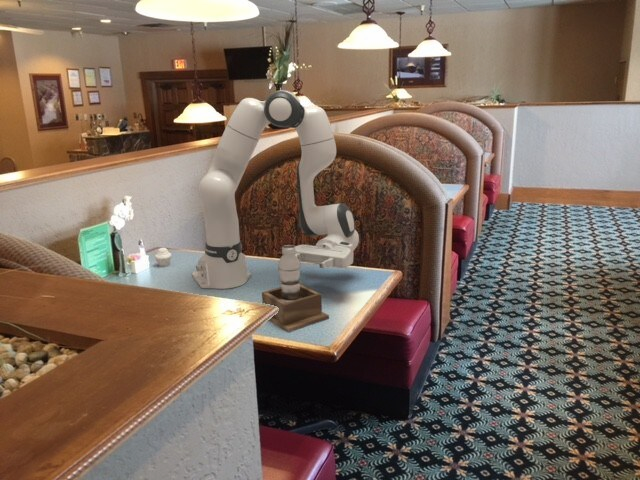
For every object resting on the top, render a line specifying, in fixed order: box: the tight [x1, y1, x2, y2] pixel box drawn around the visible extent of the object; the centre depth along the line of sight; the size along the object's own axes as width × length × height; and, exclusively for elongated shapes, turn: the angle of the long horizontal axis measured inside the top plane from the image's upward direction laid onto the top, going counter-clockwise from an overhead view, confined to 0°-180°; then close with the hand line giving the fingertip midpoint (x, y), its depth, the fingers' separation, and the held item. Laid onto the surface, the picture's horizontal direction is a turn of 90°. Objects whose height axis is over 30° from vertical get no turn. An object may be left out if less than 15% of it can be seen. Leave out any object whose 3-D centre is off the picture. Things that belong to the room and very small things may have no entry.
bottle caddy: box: [261, 283, 330, 333], centre depth 158 cm, size 17×14×7 cm
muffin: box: [154, 247, 172, 267], centre depth 206 cm, size 6×6×7 cm
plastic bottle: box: [277, 244, 302, 303], centre depth 156 cm, size 6×7×20 cm
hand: (307, 263), depth 164 cm, fingers open, 8 cm apart
